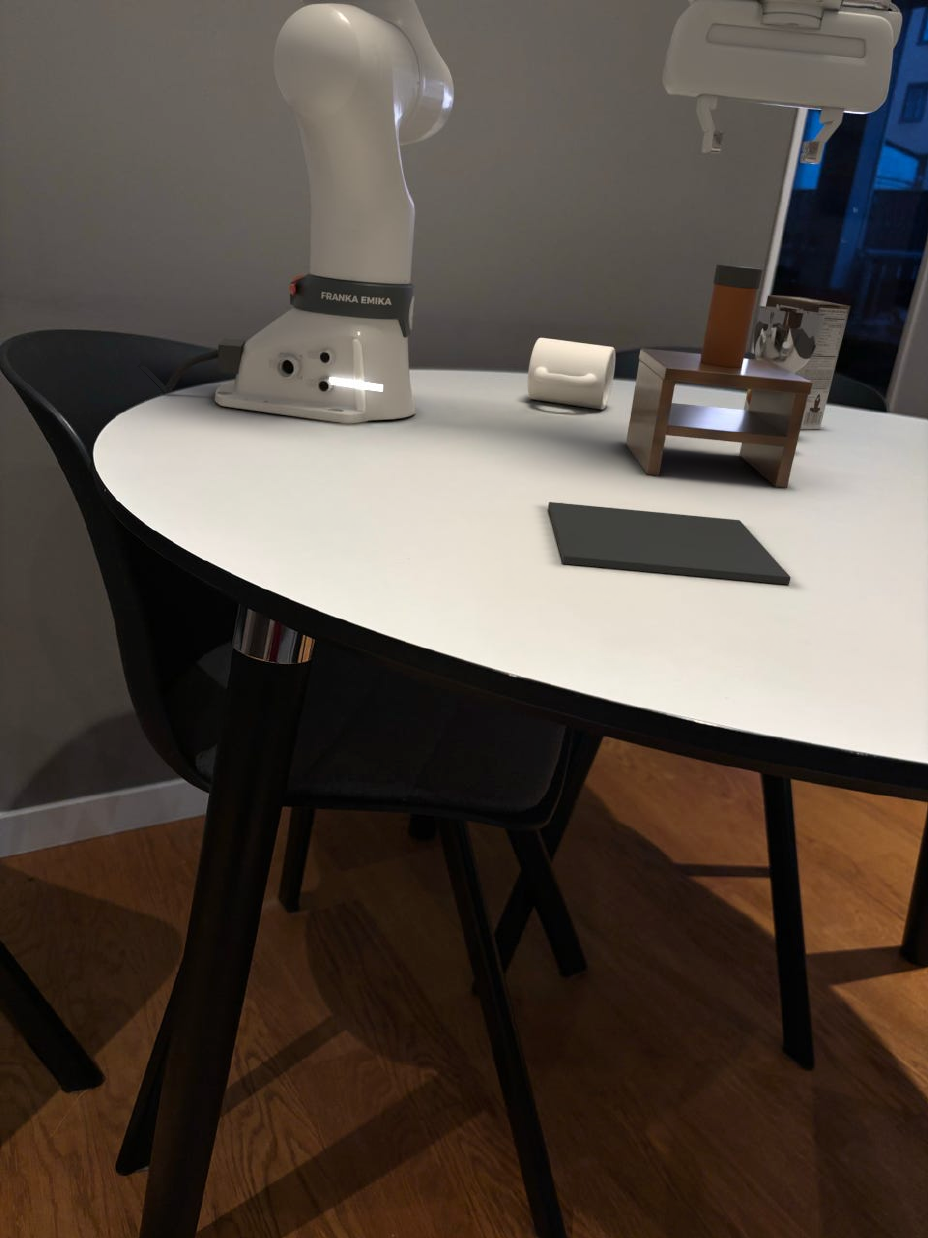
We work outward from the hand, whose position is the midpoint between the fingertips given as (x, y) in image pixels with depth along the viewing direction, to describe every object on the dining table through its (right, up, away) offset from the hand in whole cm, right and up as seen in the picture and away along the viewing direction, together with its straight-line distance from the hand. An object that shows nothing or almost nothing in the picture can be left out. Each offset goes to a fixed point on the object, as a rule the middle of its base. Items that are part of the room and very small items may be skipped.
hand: (760, 157), depth 92 cm
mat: (-13, -38, -17) cm, 43 cm away
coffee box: (+15, -17, +41) cm, 47 cm away
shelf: (-3, -27, +11) cm, 29 cm away
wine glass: (+10, -20, +32) cm, 39 cm away
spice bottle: (-2, -17, +7) cm, 19 cm away
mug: (-15, -16, +37) cm, 42 cm away
